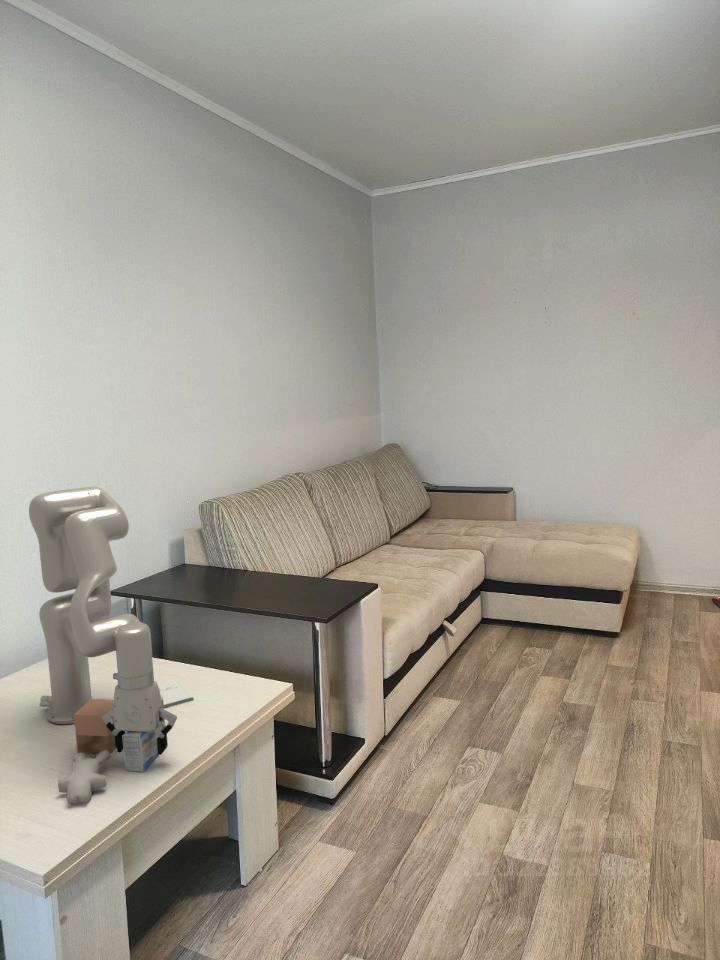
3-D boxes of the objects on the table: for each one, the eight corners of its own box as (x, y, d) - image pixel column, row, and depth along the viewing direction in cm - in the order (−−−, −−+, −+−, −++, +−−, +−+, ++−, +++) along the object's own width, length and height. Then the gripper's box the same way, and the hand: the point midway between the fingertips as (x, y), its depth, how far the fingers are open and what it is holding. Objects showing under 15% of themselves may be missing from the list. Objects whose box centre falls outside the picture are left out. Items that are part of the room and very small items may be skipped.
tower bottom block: (77, 754, 161) (75, 734, 161) (95, 737, 169) (93, 717, 168) (110, 756, 160) (108, 735, 159) (126, 738, 168) (124, 719, 167)
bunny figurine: (51, 792, 139) (69, 745, 154) (54, 813, 141) (72, 765, 155) (100, 786, 141) (113, 741, 155) (102, 807, 142) (116, 761, 156)
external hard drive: (163, 710, 183) (150, 693, 193) (193, 702, 187) (179, 685, 197) (163, 704, 182) (150, 687, 193) (193, 696, 187) (178, 680, 197)
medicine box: (143, 773, 153) (140, 736, 151) (124, 771, 153) (121, 734, 152) (160, 754, 160) (157, 718, 159) (142, 752, 161) (139, 717, 160)
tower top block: (75, 735, 160) (73, 714, 160) (93, 718, 168) (91, 698, 168) (108, 736, 159) (106, 715, 159) (124, 719, 167) (122, 699, 166)
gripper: (91, 685, 151) (97, 757, 154) (166, 687, 149) (171, 761, 152) (107, 670, 159) (113, 740, 161) (179, 672, 156) (184, 743, 159)
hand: (141, 750), depth 156 cm, fingers open, 9 cm apart
